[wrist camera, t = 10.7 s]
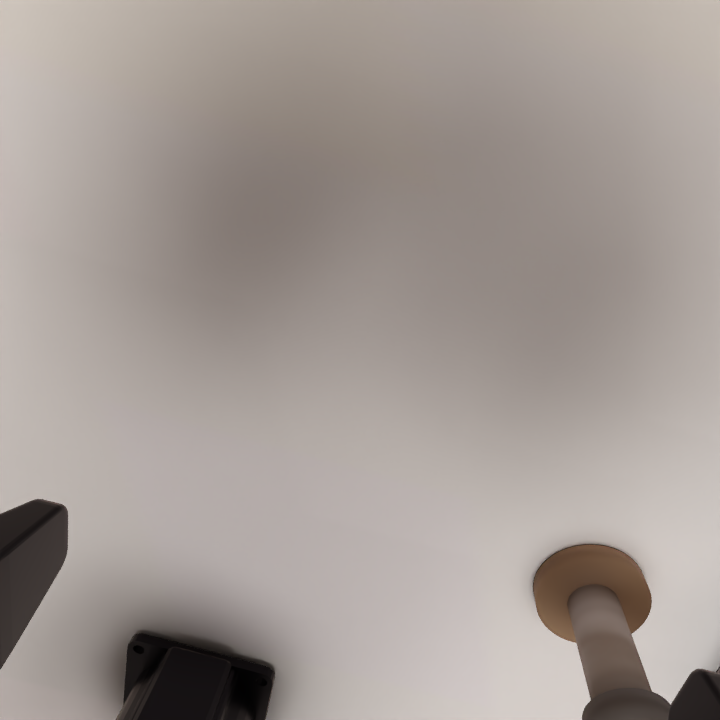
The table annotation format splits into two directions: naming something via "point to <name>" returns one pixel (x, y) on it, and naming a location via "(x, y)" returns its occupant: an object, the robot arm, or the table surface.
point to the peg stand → (601, 626)
